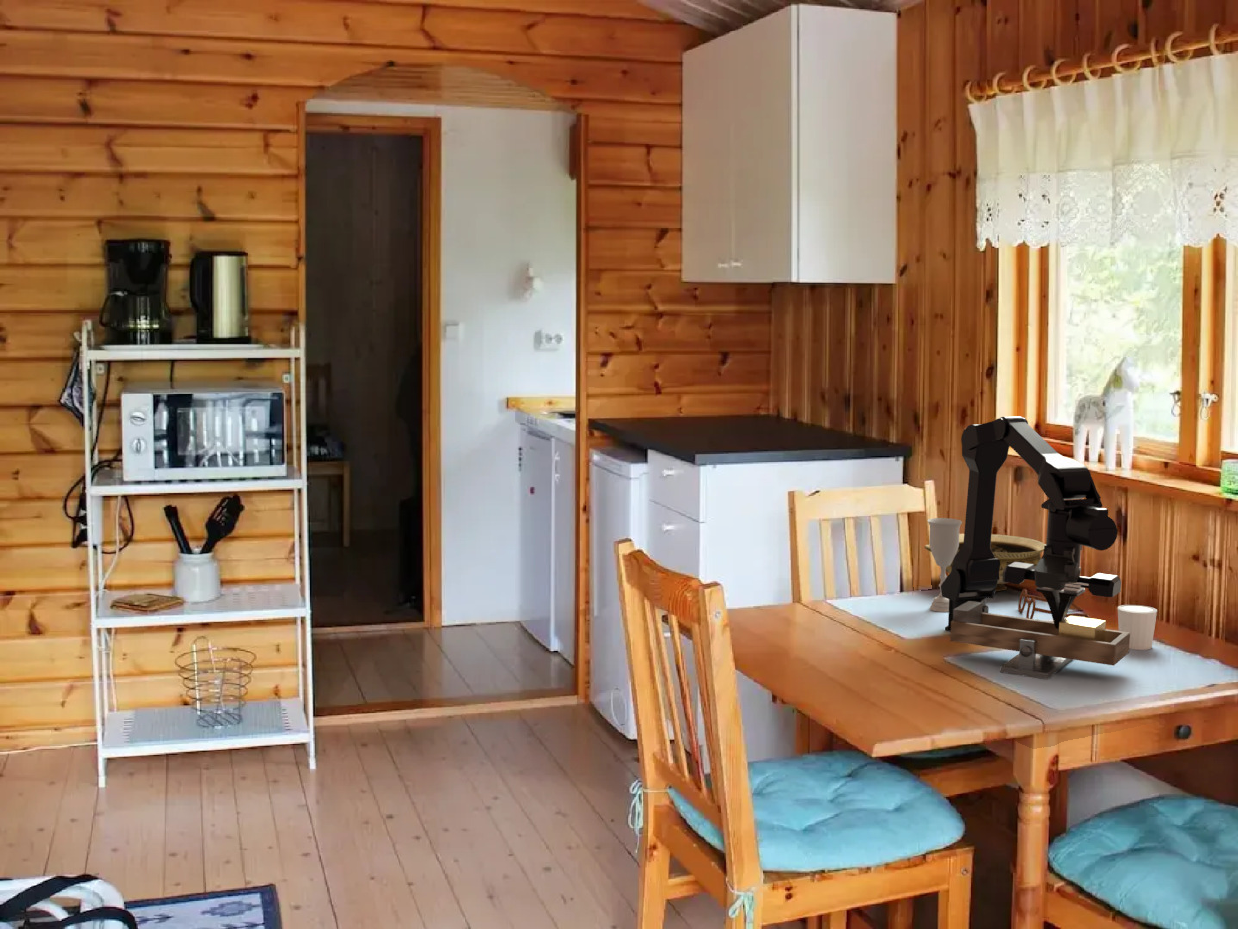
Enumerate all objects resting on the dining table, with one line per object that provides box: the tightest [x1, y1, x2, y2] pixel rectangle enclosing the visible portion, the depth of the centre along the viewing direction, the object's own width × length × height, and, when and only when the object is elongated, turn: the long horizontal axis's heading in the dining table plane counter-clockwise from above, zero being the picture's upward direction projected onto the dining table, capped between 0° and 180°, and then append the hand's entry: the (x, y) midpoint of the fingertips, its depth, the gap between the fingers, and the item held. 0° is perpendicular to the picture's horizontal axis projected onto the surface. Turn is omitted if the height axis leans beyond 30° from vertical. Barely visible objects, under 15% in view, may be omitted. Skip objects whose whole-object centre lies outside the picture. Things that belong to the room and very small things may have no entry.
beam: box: [949, 601, 1130, 667], centre depth 253 cm, size 28×10×6 cm, turn 58°
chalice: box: [927, 517, 963, 613], centre depth 294 cm, size 7×7×18 cm
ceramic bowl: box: [924, 533, 1046, 592], centre depth 315 cm, size 30×24×10 cm
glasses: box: [1017, 588, 1091, 619], centre depth 289 cm, size 13×13×5 cm
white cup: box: [1117, 604, 1158, 651], centre depth 266 cm, size 7×7×7 cm
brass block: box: [1059, 616, 1107, 642], centre depth 249 cm, size 6×6×4 cm
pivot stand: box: [999, 638, 1073, 680], centre depth 253 cm, size 8×16×6 cm, turn 148°
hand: (1057, 628), depth 251 cm, fingers closed
